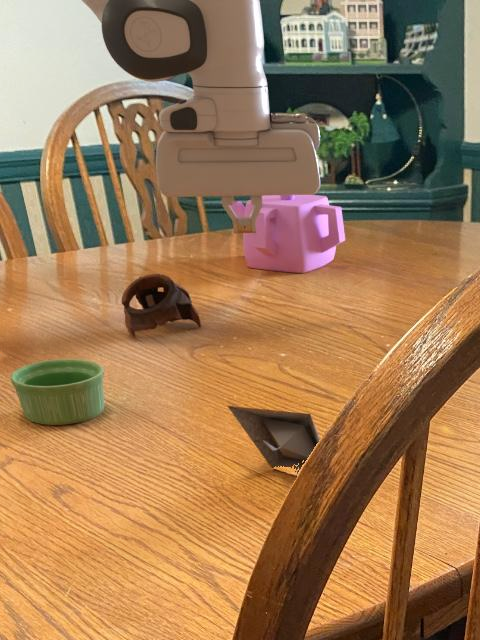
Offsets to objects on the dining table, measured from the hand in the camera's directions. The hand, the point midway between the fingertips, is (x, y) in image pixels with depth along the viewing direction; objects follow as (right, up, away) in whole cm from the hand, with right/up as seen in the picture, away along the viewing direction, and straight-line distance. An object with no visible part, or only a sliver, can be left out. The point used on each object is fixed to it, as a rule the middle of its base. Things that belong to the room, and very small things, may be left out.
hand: (245, 232), depth 118 cm
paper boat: (+11, -36, -33) cm, 51 cm away
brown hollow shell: (-12, -12, +4) cm, 17 cm away
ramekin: (-14, -28, -22) cm, 39 cm away
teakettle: (-1, +11, +40) cm, 42 cm away
